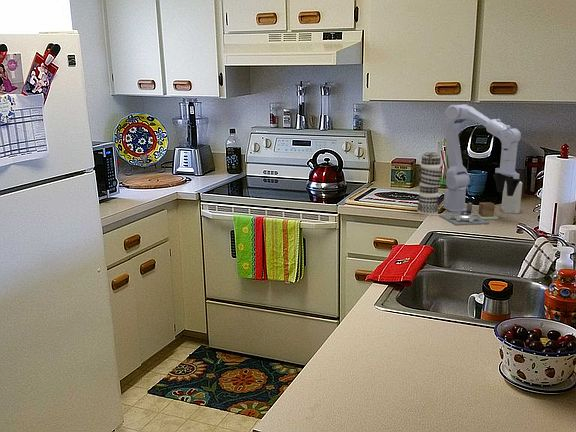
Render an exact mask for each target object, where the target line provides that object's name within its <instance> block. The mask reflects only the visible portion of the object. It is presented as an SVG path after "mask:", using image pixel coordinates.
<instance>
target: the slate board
mask: <svg viewBox="0 0 576 432" xmlns="http://www.w3.org/2000/svg"><path fill="white" fill-rule="evenodd" d="M438 217H440V218H442V219H443V220H445V221H446V222H447V221H448V222H449V223H451V224H453V225H454V226H468V225H470V226H473V225H475V226H476V225H489V224H490V222H489V221H487V220H483V219H481V220H479V221H478V220H475V221H473V222H469V221H457V220H455V219H450V218H449V213H448V214H447V213H446V214H439V215H438Z"/></svg>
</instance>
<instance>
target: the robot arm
mask: <svg viewBox="0 0 576 432" xmlns="http://www.w3.org/2000/svg"><path fill="white" fill-rule="evenodd" d="M468 119H469V120H471V121H473V122H476V123H478V124H480V125H482V126H483V127H485V128H486V132H487V133H489V134H491V135H493V136H494V137H496V138H498V139H499V141H500V143H501V150H500V151H501V153H500V163H499V167H496V168H495V171H494V173H495V174H492V177H493V178H494V179H493V180H494V182H495V185H496V191H497V193H503V190H504V184H505V181H506V183H507V196H513V194H514V192H515V189H516V187H517V185H518V184H519V182H520V181H521V182H522V179H521V178H520V173H518V172H517V171H516V163H517V155H518V153H517V152H518V144H519V142H520V141H521V139H522V133H521V131H520V130H519V129H518V128H515V127H512V128H511V125H509V124H505V123H504V122H502V120H501V119H500V118H493V119H491V118H489V117H487V116H486V115H485V114H483V113H481V112H480V111H478V110H477V109H475V108H474V107H473V106H470V105H469V104H466V103H462V104H450V105H449V106H448V107H447V108H446V109H445V111H444V119H443V120H444V121H443V125H442V126H443V127H442V128H443V133H444V139H445V147H446V155H447V160H448V161H447V162H448V169H447V170H446V173H445V174H446V175H445V176H446V177H445V185H446V190H445V191H444V196H443V206H444V207H442V209H445V210H447V211H449V212H452V213H453V212H457V211H461V212H467V208H466V207H465V206H466V193H467V188H468V186H469V185H470V184H471V177H470V175H469V173H468V170H467V168H466V167H465V166H464V165H463V158H462V151H461V147H460V146H461V144H460V136H459V131H458V128H459V127H460V125H462V123H464V122H465V121H466V120H468Z"/></svg>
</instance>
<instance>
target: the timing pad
mask: <svg viewBox="0 0 576 432" xmlns="http://www.w3.org/2000/svg"><path fill="white" fill-rule="evenodd" d="M480 217H481V219H483V220H486V221H487V220H499V217H498V216H496V215H494V216H489V217H482V216H480Z"/></svg>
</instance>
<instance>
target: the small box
mask: <svg viewBox="0 0 576 432" xmlns="http://www.w3.org/2000/svg"><path fill="white" fill-rule="evenodd" d="M523 184H524V183H523V182H522V180H521V181H520V182H519V184H518V185H517V187H516V189H515V192H514V194H513V196H507V183H506V181H505V184H504V190H503V192H502V199H501V207H500V208H501V210H502V212H503V213H504V214H520V211H521V204H522V203H521V200H522V193H523Z"/></svg>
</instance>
